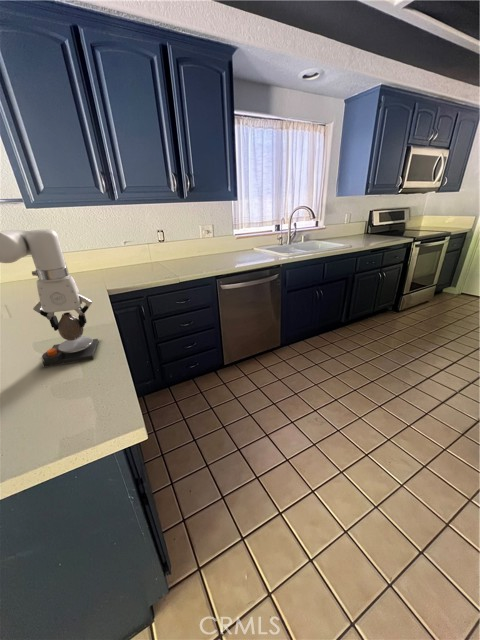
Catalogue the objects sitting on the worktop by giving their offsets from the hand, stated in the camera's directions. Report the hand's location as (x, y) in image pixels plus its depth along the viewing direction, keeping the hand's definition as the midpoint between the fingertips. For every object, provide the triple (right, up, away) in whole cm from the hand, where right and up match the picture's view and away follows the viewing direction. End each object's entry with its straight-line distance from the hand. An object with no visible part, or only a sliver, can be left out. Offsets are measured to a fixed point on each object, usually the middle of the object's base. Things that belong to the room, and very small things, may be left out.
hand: (70, 326), depth 86 cm
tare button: (-5, -9, -2) cm, 10 cm away
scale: (-1, -9, +4) cm, 10 cm away
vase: (0, -4, +2) cm, 4 cm away
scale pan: (0, -6, +3) cm, 7 cm away
